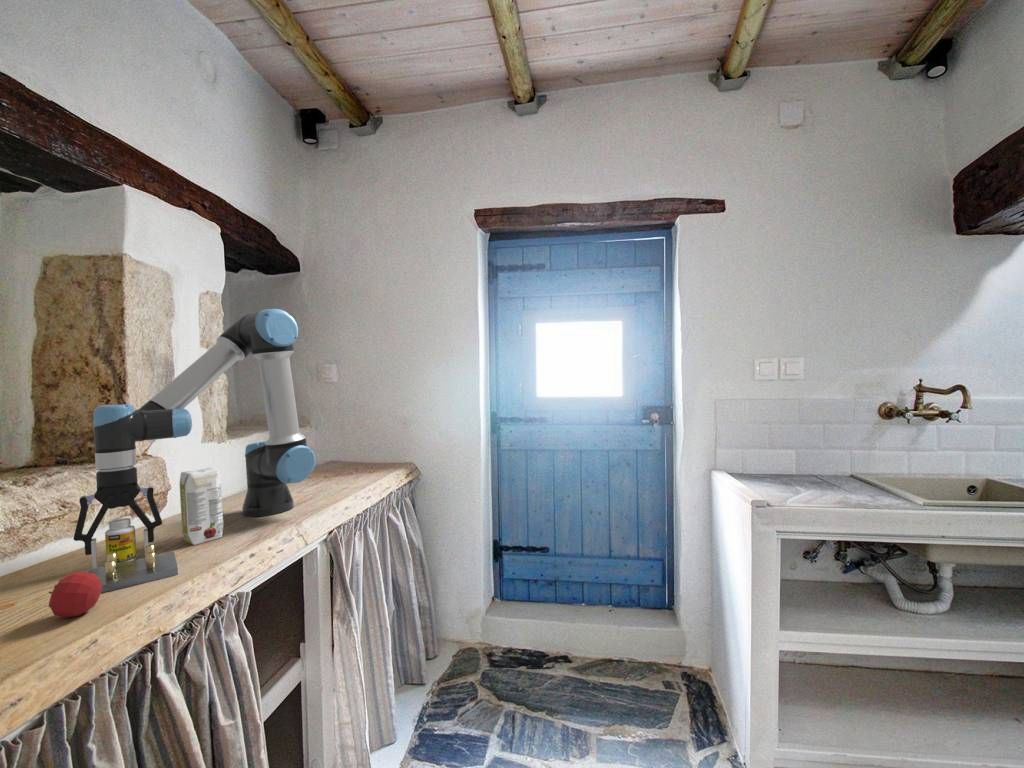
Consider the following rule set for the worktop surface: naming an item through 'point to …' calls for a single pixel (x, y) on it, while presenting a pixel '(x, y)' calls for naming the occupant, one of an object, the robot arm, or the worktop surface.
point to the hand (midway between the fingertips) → (121, 561)
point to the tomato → (75, 594)
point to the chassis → (135, 570)
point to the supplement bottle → (121, 540)
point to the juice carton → (201, 505)
